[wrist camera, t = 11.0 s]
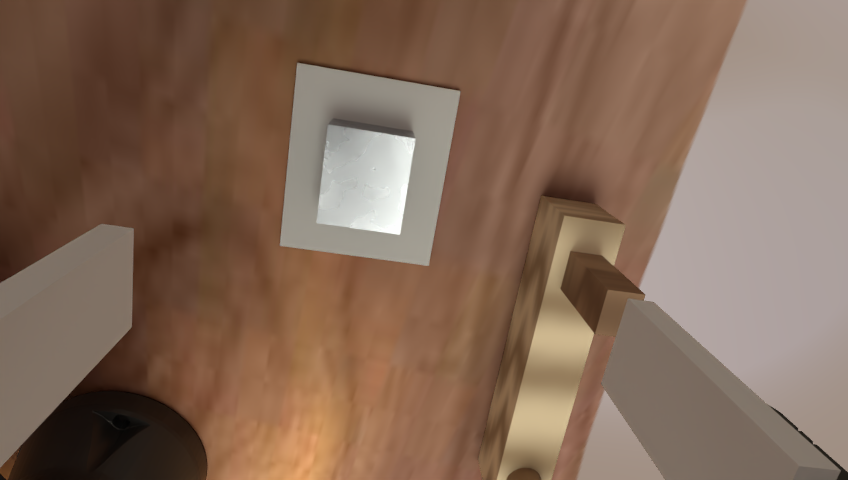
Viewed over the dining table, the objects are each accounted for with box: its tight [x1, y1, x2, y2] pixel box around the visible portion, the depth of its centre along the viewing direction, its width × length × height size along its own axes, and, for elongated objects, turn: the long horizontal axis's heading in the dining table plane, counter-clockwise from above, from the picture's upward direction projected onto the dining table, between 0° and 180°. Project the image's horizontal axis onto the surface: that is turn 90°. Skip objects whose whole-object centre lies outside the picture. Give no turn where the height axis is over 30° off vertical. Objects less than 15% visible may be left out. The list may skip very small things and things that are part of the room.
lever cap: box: [317, 118, 416, 235], centre depth 40 cm, size 7×6×4 cm
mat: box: [280, 63, 461, 266], centre depth 42 cm, size 14×12×1 cm
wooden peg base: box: [478, 196, 645, 480], centre depth 42 cm, size 26×5×13 cm, turn 170°
